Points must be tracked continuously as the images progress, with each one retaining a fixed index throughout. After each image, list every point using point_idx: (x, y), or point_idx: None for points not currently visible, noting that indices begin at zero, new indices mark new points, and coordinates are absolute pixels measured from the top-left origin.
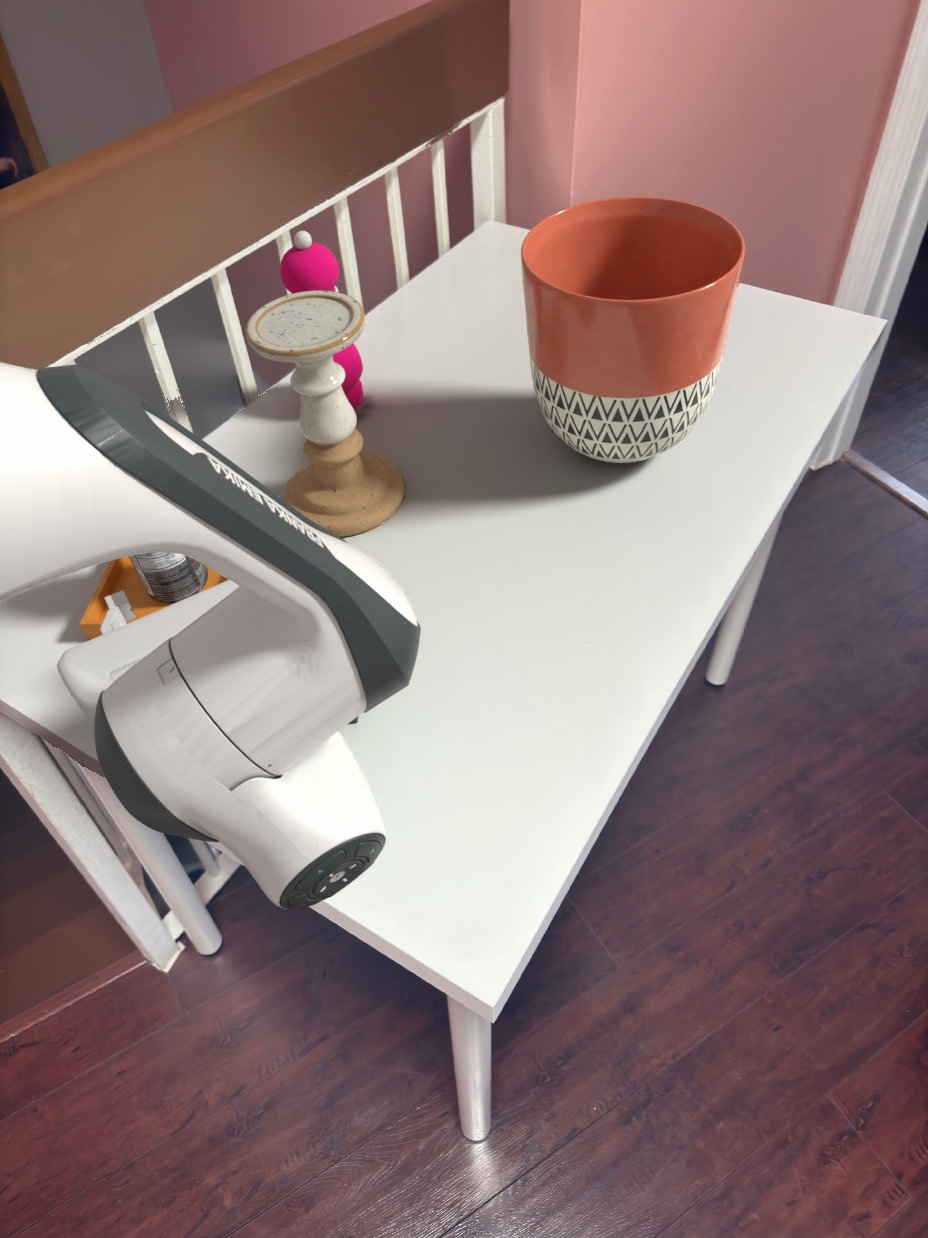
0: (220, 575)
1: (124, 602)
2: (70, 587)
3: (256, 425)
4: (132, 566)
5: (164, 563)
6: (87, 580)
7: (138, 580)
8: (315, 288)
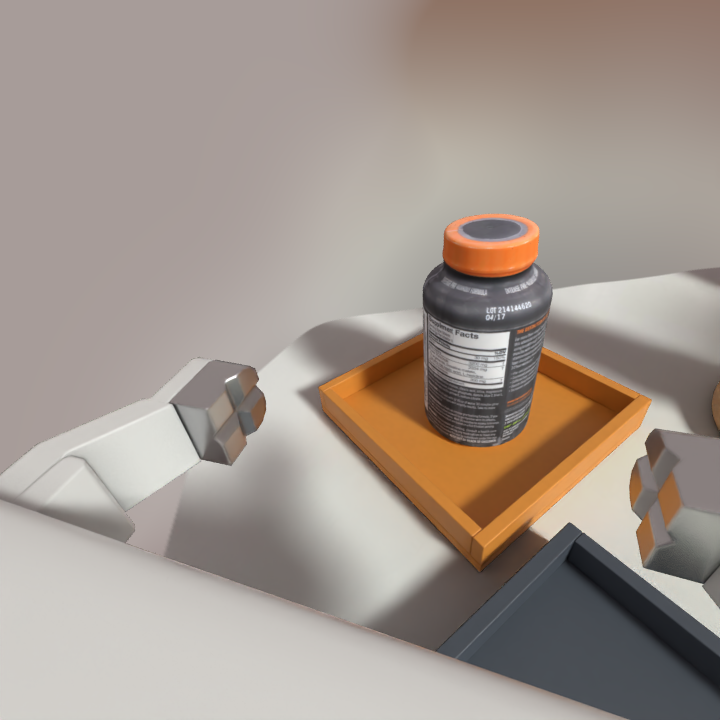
0: (541, 441)
1: (196, 405)
2: (364, 344)
3: (693, 284)
4: None
5: (463, 373)
6: (385, 346)
7: None
8: None
